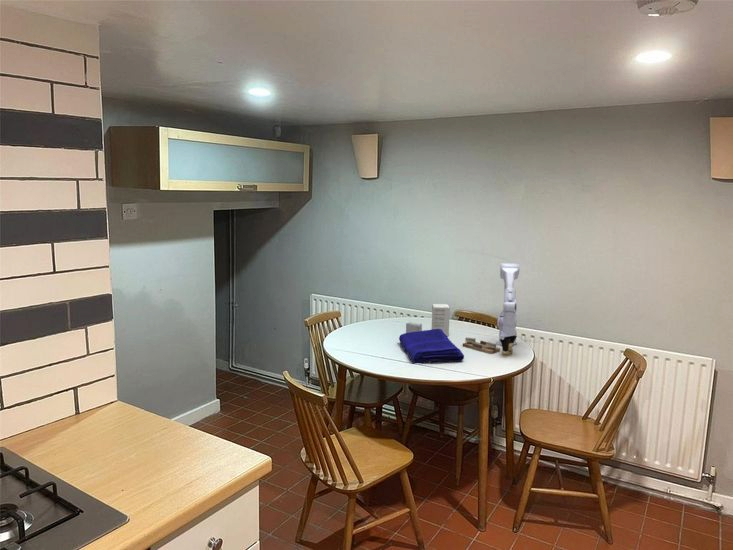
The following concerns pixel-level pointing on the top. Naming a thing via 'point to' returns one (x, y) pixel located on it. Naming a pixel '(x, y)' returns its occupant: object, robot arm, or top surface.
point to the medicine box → (413, 327)
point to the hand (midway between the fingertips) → (507, 350)
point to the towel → (430, 346)
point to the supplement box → (441, 317)
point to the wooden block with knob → (508, 349)
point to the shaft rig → (481, 345)
